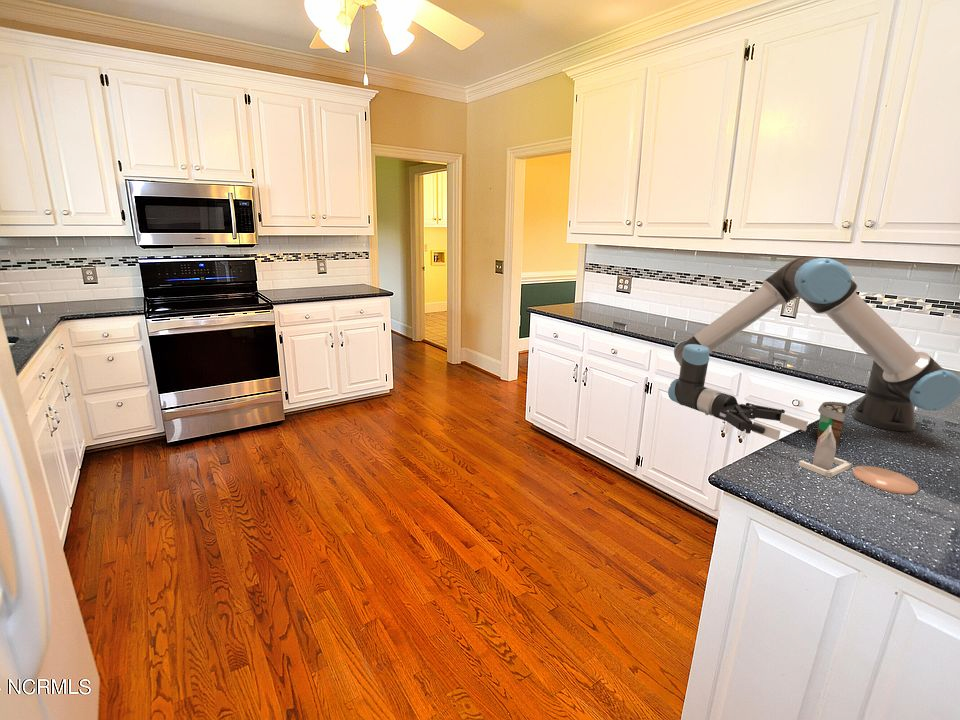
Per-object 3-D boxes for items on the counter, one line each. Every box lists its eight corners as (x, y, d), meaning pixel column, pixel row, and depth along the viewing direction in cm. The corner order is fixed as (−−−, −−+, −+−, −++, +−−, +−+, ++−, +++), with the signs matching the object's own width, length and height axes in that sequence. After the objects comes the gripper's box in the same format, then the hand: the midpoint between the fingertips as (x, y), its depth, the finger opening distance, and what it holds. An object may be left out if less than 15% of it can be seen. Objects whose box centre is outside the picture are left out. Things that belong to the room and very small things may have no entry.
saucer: (865, 464, 122) (866, 461, 121) (926, 486, 112) (926, 483, 112) (843, 475, 115) (843, 472, 115) (905, 499, 106) (906, 496, 105)
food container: (814, 429, 143) (821, 398, 141) (839, 435, 140) (847, 403, 137) (809, 442, 134) (817, 408, 132) (836, 448, 130) (845, 414, 128)
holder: (820, 456, 125) (821, 452, 125) (850, 467, 120) (852, 463, 119) (798, 465, 120) (799, 461, 119) (829, 477, 114) (830, 473, 114)
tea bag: (830, 463, 122) (839, 426, 119) (830, 473, 117) (839, 435, 114) (813, 458, 124) (821, 422, 121) (812, 468, 119) (821, 430, 116)
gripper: (740, 409, 150) (814, 435, 132) (689, 423, 137) (763, 453, 120) (744, 387, 148) (820, 409, 130) (693, 398, 135) (769, 425, 118)
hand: (793, 430), depth 125 cm, fingers open, 13 cm apart
